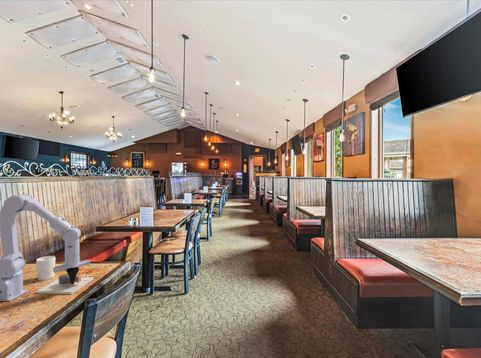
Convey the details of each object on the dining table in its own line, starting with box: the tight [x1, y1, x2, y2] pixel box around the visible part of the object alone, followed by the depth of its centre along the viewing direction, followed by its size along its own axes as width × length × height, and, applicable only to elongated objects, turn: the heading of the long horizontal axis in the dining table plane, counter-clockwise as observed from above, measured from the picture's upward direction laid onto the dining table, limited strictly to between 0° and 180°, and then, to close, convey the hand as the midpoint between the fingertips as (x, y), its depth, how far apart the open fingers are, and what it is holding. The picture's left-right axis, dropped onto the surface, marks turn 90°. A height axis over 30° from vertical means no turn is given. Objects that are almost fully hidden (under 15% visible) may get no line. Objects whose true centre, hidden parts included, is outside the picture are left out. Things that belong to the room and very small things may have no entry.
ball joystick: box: [58, 273, 82, 284], centre depth 123 cm, size 10×6×2 cm, turn 83°
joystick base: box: [35, 276, 94, 295], centre depth 123 cm, size 16×16×2 cm
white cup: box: [35, 255, 57, 281], centre depth 133 cm, size 8×8×10 cm
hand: (72, 283), depth 120 cm, fingers closed
